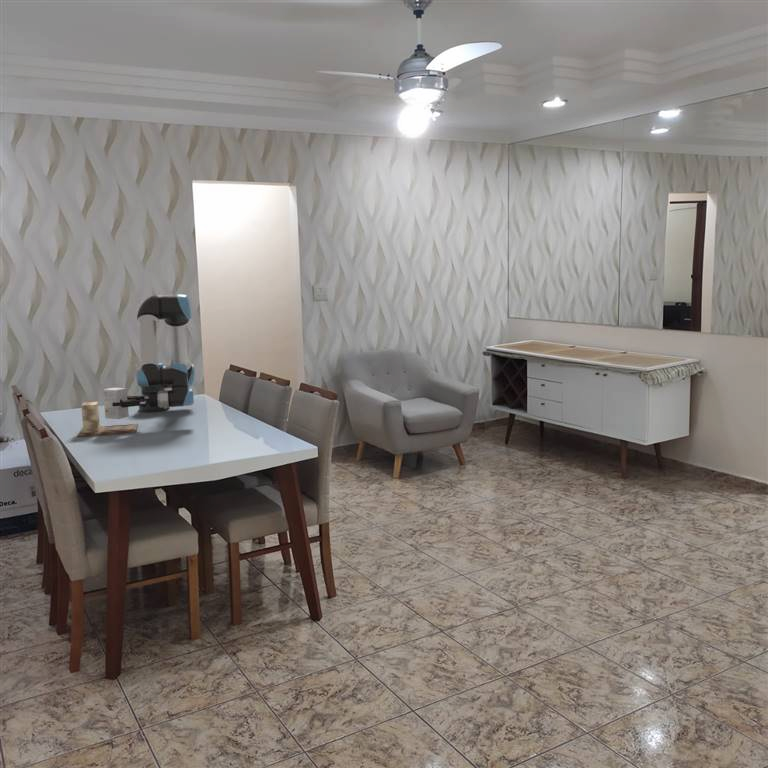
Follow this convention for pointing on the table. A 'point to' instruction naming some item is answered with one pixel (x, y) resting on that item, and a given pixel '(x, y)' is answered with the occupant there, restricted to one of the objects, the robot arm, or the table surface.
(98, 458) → the table surface
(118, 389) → the small box
